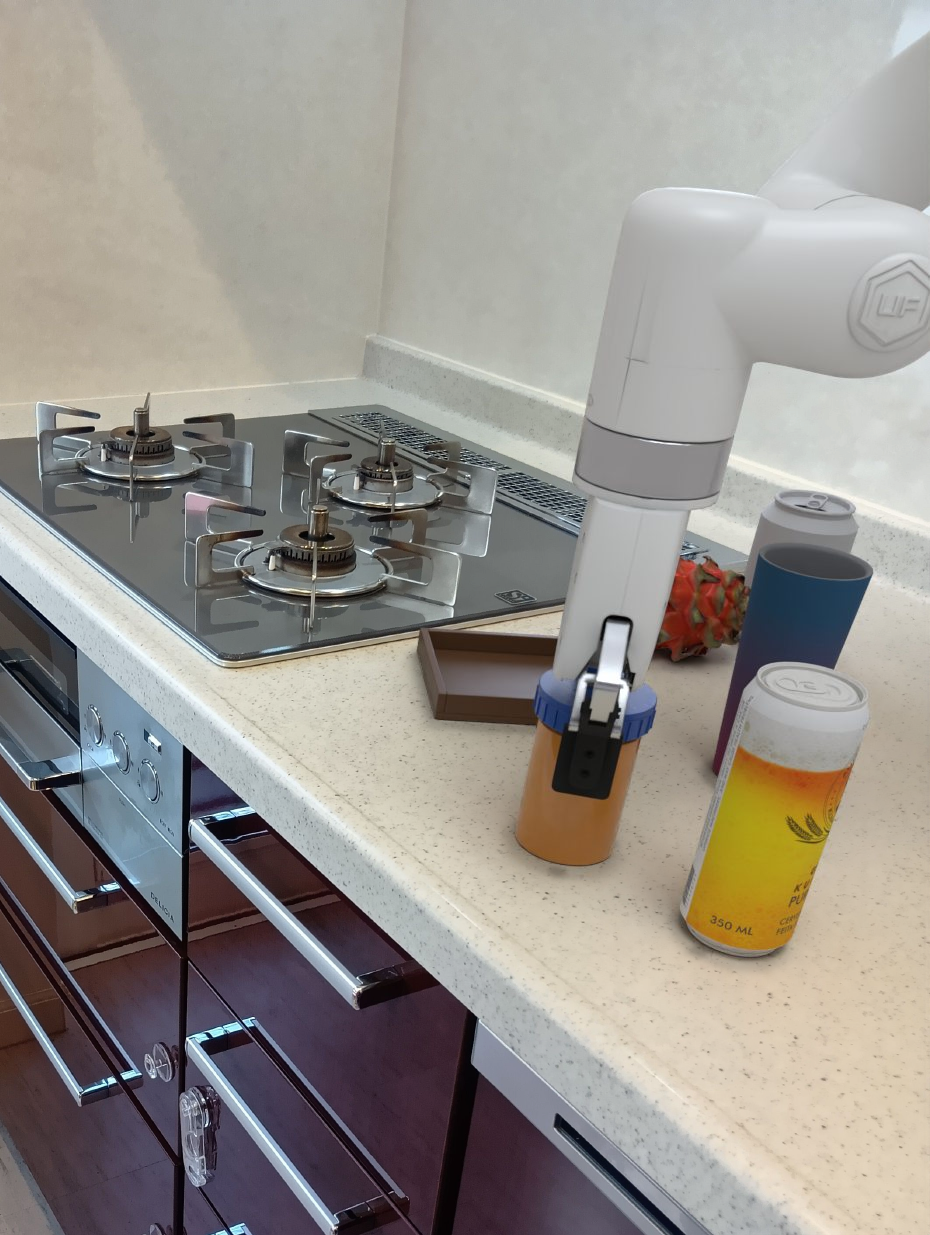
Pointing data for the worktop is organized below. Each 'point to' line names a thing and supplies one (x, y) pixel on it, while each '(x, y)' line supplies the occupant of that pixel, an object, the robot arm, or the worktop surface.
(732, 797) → the beer can
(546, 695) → the lid
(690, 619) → the dragon fruit
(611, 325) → the robot arm
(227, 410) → the worktop surface
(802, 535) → the can
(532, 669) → the tray
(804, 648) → the cup
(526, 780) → the jar
